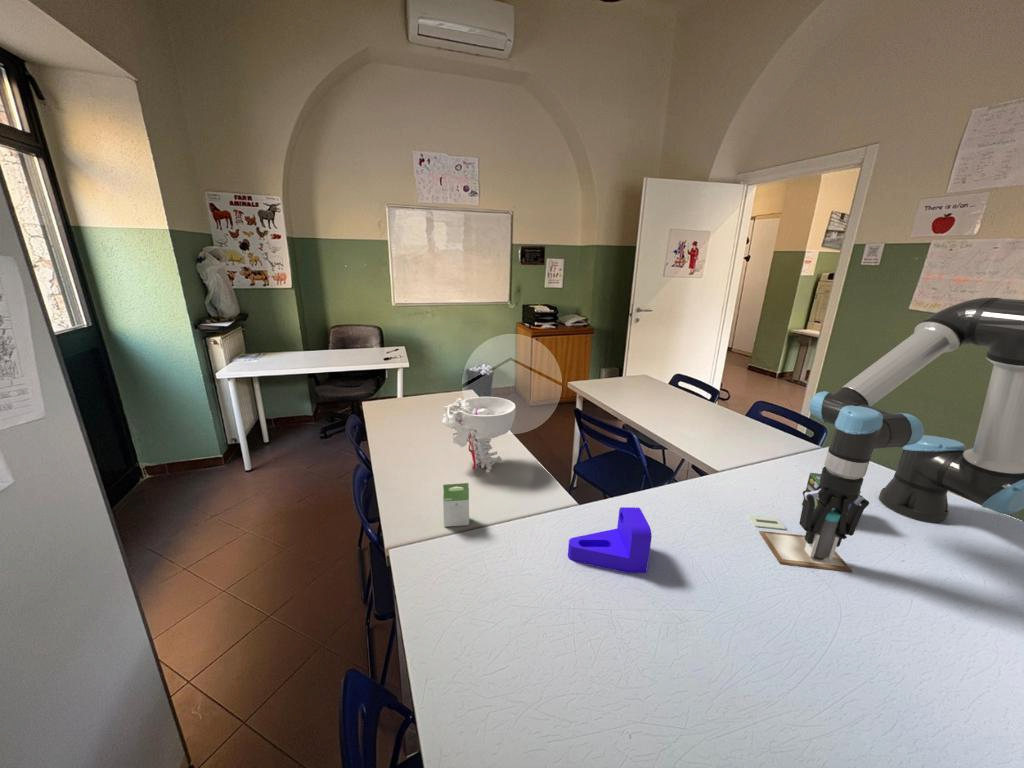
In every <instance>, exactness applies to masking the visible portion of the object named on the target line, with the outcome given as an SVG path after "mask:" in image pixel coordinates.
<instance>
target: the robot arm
mask: <svg viewBox="0 0 1024 768" xmlns="http://www.w3.org/2000/svg"><path fill="white" fill-rule="evenodd" d="M964 345H975V346H978V347H979V346H981V347H986V348H987V351H986V356H985V358H986V360H988V362H990V363H991V364H993V367H992V371H991V375H990V379H989V381H988V382H989V383H988V387H987V391H986V395H985V400H984V403H983V407H982V408H983V409H982V412H981V416H980V420H979V423H978V424H979V425H978V428H977V432H976V435H975V436H976V437H975V440H974V445H973V447H972V448H968V449H967V448H966V445H965V444H964V443H963V442H962V441H958V440H956V439H952V438H947V437H941V436H936V435H928V434H927V435H926V434H924V433H925V429H924V426H923V423H922V421H921V420H920V419H919V418H918V417H916V416H914V415H912V414H910V413H905V412H904V413H902V412H894V413H892V412H887V411H885V410H882V409H880V408H879V409H878V408H876V407H873V405H874V404H876V403H877V402H878V401H880V400H881V399H883V398H884V397H885V396H887V395H888V394H890V393H891V392H892V391H894V390H895V389H897V387H899V386H900V385H902V384H903V383H904V382H906V381H907V380H908V379H909V378H912V377H913V376H914V375H915V374H916V373H918V372H919V371H921V370H922V369H923V368H926V366H927V365H929V364H930V363H932V361H934V360H936V359H937V358H938V357H939V356H941V355H942V354H944V353H951V352H954V351H955V350H957V349H958V348H960V347H962V346H964ZM808 410H809V413H810V414H811V415H812V416H813V417H815V418H817V419H819V420H820V421H822V422H824V423H826V424H827V423H828V424H830V425H832V426H834V428H833V432H832V436H831V439H830V444H829V446H828V450H827V453H826V457H825V460H824V464H823V465H824V466H823V467H822V470H821V473H820V474H821V476H820V485H819V486H818V487H817V488H816V491H812V492H808V491H806V489H805V490H803V491H802V495H803V496H802V497H803V499H804V502H803V501H802V503H803V506H802V509H801V513H800V518H799V525H800V526H801V528H802V529H803V530H804V531H805V541H806V546H805V549H804V550H805V551H806V552H807V554H808V555H809V556H810V557H814V554H815V551H816V548H817V544H818V541H819V538H820V535H819V534H818V533H817V532H818V530H819V529H820V527H821V525H822V523H823V521H824V519H825V518H826V516H827V514H828V512H831V510H832V508H835V510H836V511H837V512H838V513H839V514H840V515H841V516H840V519H839V522H838V524H837V528H836V531H835V534H834V537H833V540H832V543H831V547H830V550H829V553H828V556H827V558H828V559H831V560H832V559H833V555H834V552H835V551H836V549H837V548H838V547H840V545H841V542H842V540H846V539H847V535H848V536H850V537H851V536H853V535H854V534H855V532H856V530H857V528H858V525H859V522H860V520H861V518H862V515H863V512H864V510H866V508H867V507H868V506H869V505H870V501H869V500H867V498H865V497H863V495H861V494H860V495H859V496H858V492H859V491H861V488H862V486H863V482H864V477H865V476H866V474H867V470H868V467H869V464H870V462H871V461H870V460H871V457H872V454H873V451H874V450H875V449H885V448H902V451H901V454H900V457H899V460H898V463H897V466H896V469H895V472H894V475H893V477H892V479H890V481H889V482H888V483H887V484H886V486H885V487H883V488H882V489H881V491H880V492H879V495H878V500H879V501H880V503H881V504H882V505H883V506H884V507H887V508H888V509H890V510H892V511H893V512H896V513H898V514H900V515H903V516H904V517H908V518H911V519H914V520H918V521H920V522H921V521H922V522H927V523H935V524H936V523H943V522H946V520H947V518H948V515H949V504H948V503H949V502H948V495H947V494H948V493H949V492H950V493H952V494H954V495H958V496H959V497H962V498H964V499H966V500H969V501H970V502H972V503H976V504H978V505H980V506H981V507H982V508H986V509H989V510H991V511H993V512H995V513H998V514H1002V515H1010V514H1011V515H1012V514H1015V513H1018V512H1020V511H1022V510H1023V509H1024V299H1017V298H1016V299H1012V298H1000V297H979V298H978V297H977V298H975V299H974V298H973V299H969V300H965V301H963V302H959V303H955V304H953V305H951V306H950V305H949V306H948V307H946V308H943V309H941V310H939V311H937V312H936V313H933V314H932V315H930V316H929V317H927V318H925V319H924V320H923V321H921V322H920V323H918V324H917V325H916V326H915V328H914V330H913V333H912V334H911V335H910V336H909V337H907V338H906V339H904V340H903V341H902V342H900V343H899V344H898V345H896V346H895V347H894V348H892V349H891V350H889V352H887V353H886V354H884V355H883V356H882V357H880V358H879V359H878V360H876V361H875V362H874V363H872V364H871V365H869V367H866V369H864V370H863V371H862V372H860V373H858V374H857V376H854V378H852V379H851V380H849V381H848V382H847V383H846V384H844V385H843V386H841V387H840V388H839V389H838V390H836V391H834V392H831V391H826V390H823V391H819V392H817V393H815V394H814V395H813V396H812V397H811V399H810V401H809V403H808ZM966 449H967V450H966ZM817 497H819V500H818V502H817V507H816V509H815V511H814V508H815V502H816V501H817V500H816V498H817ZM851 503H852V504H851ZM849 504H851V506H850V508H849ZM848 510H849V511H848ZM813 512H814V513H813Z"/></svg>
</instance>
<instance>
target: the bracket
mask: <svg viewBox="0 0 1024 768" xmlns="http://www.w3.org/2000/svg"><path fill="white" fill-rule="evenodd" d="M617 519H618V520H617V526H616V528H613V529H609V530H603V531H598V532H594V533H590V534H584V535H579V536H575V537H571V538H569V539H568V546H567V547H568V548H567V558H568V559H569V560H570V561H571V562H574V563H579V564H584V565H588V566H594V567H598V568H603V569H607V570H613V571H618V572H620V573H621V572H622V573H627V574H647V571H648V566H649V558H650V551H651V546H652V545H651V544H652V529H651V527H650V525H649V522H648V521H647V519H646V517H645V515H644V513H643V510H642V509H641V508H640V507H635V506H634V507H631V506H630V507H628V506H627V507H622V506H620V508H619V509H618V518H617Z"/></svg>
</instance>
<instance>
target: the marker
mask: <svg viewBox="0 0 1024 768" xmlns="http://www.w3.org/2000/svg"><path fill="white" fill-rule="evenodd" d="M840 516H841V515H840V514H839V513H838V512H837V511H836V510H835V509H834V508H832V510H831V512H828V514H827V516H826V518H825V519H824V521H823V523H822V525H821V527H820V529H819V530H818V532H817V533H818V534H819V535H820V538H819V541H818V544H817V548H816V551H815V554H814V558H816V559H818V560H823V559H824V558H827V556H828V553H829V550H830V547H831V543H832V540H833V537H834V534H835V531H836V528H837V524H838V522H839V519H840Z"/></svg>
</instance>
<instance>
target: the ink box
mask: <svg viewBox="0 0 1024 768" xmlns="http://www.w3.org/2000/svg"><path fill="white" fill-rule="evenodd" d="M469 487H470V486H469V482H461V483H450V484H447V483H445V484H443V486H442V488H443V496H442V502H443V505H442V506H443V508H442V509H443V526H444V528H447V527H460V526H469V525H470V488H469Z"/></svg>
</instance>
